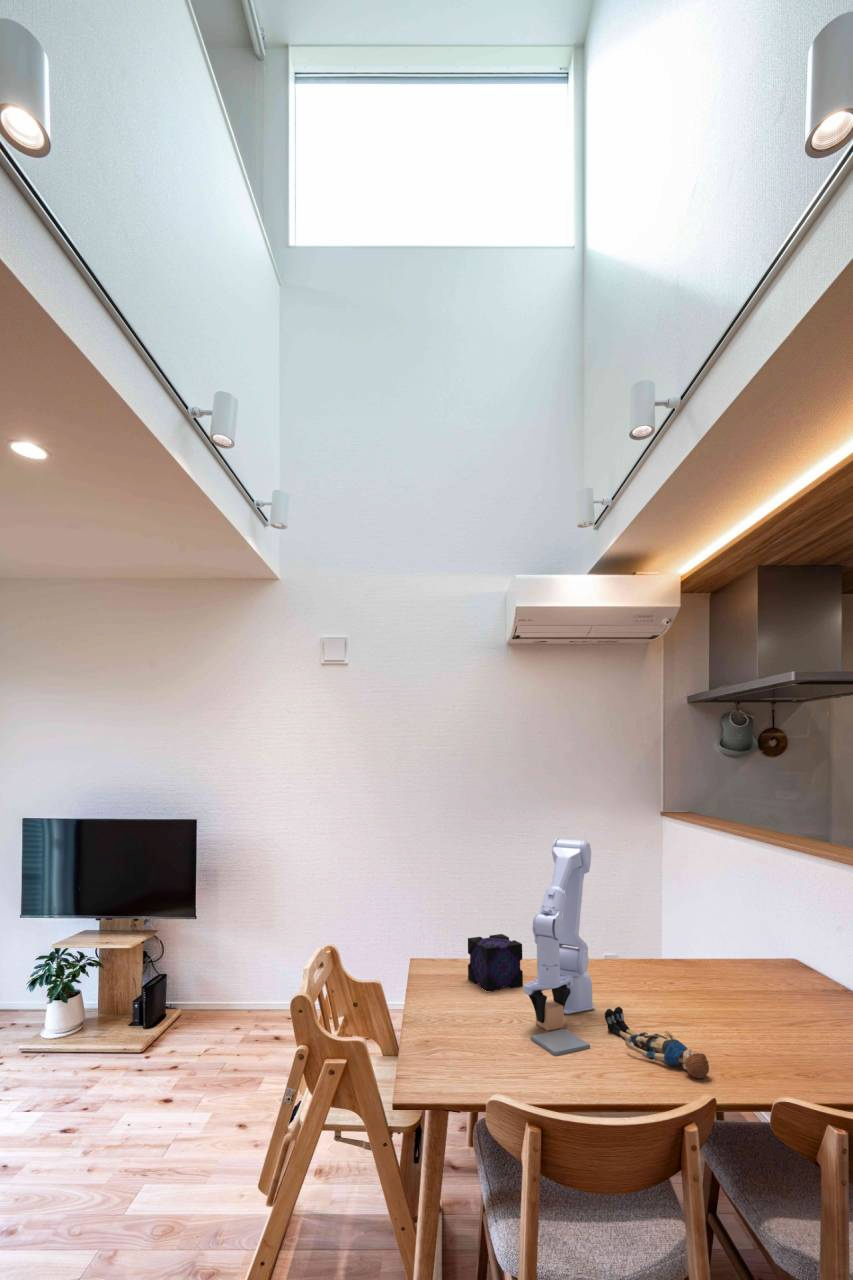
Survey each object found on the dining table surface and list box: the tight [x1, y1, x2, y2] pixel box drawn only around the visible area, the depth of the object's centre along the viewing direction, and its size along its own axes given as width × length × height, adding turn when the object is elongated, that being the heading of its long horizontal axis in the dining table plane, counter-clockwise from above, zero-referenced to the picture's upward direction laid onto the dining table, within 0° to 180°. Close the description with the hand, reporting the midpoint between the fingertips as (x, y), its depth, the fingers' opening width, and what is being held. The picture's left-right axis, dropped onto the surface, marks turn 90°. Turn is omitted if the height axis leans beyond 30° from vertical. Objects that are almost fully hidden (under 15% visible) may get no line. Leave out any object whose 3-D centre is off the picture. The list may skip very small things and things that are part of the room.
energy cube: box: [467, 933, 524, 992], centre depth 213 cm, size 12×12×12 cm
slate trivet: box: [530, 1028, 591, 1057], centre depth 170 cm, size 10×10×1 cm
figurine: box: [604, 1006, 710, 1080], centre depth 165 cm, size 13×6×30 cm
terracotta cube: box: [535, 999, 565, 1032], centre depth 181 cm, size 5×5×5 cm
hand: (549, 1019), depth 181 cm, fingers closed on terracotta cube, 5 cm apart
